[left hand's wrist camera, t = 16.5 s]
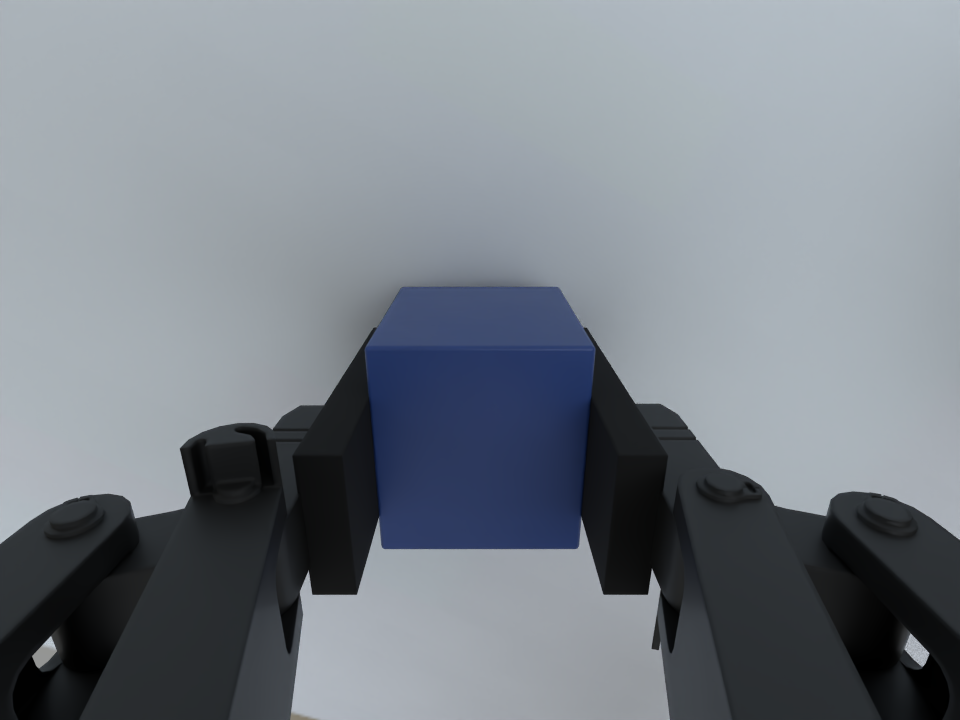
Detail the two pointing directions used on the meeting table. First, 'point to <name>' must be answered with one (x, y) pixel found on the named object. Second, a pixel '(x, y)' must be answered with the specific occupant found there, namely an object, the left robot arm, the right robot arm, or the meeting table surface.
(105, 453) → the meeting table surface
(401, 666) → the meeting table surface
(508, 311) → the block
